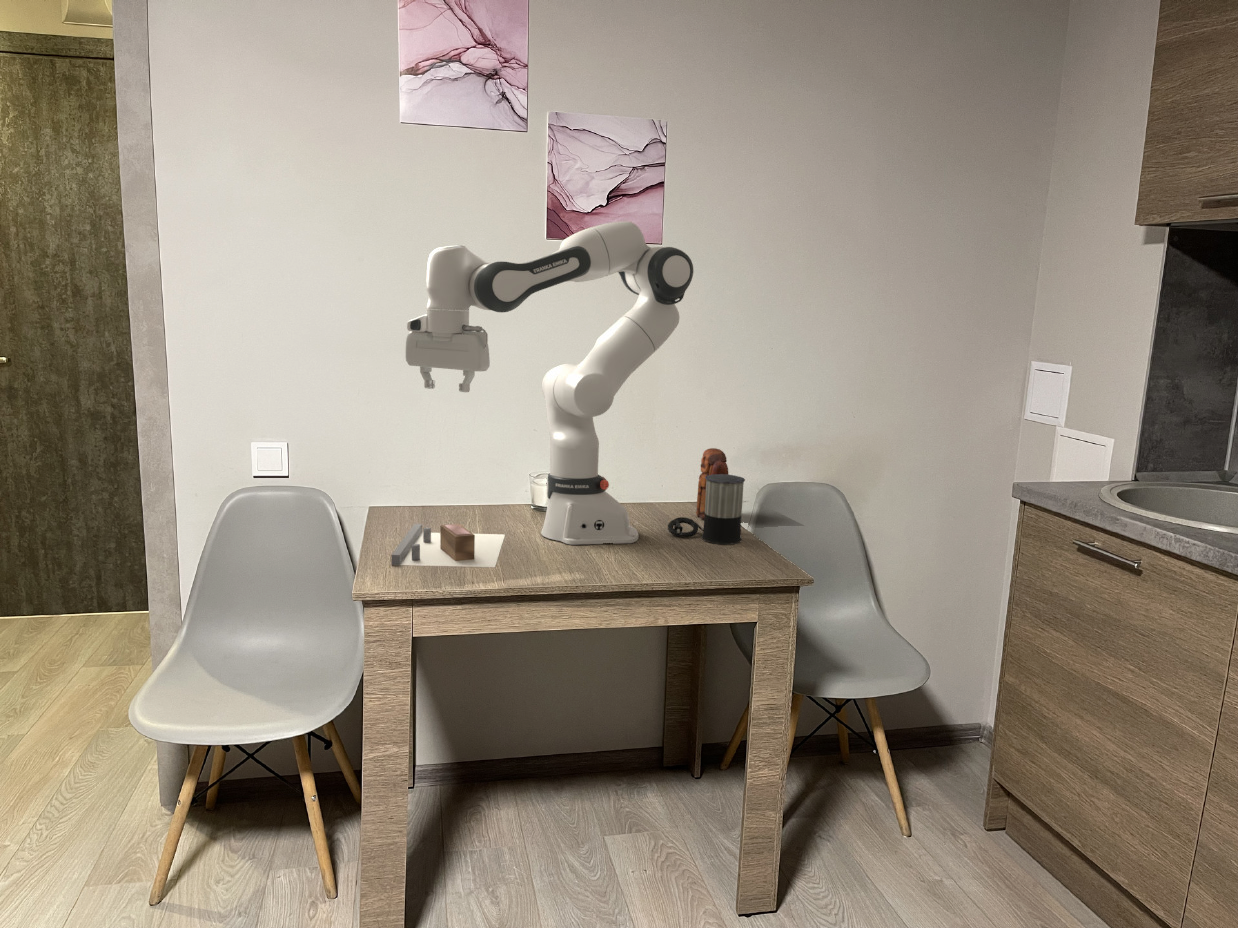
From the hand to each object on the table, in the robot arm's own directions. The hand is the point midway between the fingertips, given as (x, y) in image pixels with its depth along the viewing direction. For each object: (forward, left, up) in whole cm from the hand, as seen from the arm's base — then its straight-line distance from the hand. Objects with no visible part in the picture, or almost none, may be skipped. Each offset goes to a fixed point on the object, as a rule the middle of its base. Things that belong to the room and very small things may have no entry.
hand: (446, 390), depth 191 cm
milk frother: (-59, -11, -34) cm, 68 cm away
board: (-3, +8, -34) cm, 35 cm away
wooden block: (-4, +12, -32) cm, 35 cm away
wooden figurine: (-63, -32, -34) cm, 78 cm away
